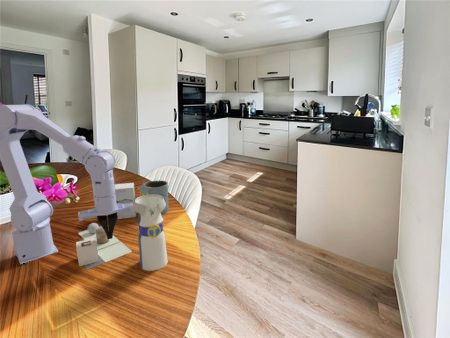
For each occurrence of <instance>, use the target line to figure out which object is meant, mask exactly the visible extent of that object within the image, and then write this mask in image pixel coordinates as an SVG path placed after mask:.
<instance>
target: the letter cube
mask: <svg viewBox="0 0 450 338" xmlns="http://www.w3.org/2000/svg"><path fill="white" fill-rule="evenodd" d="M75 245H76V246H75V248H76V255H77V261H78V267H82V266H83V265H86V264H90V263H94V262H98V261H99V258H98V250H97V245H96V240H95V238H92V239H88V240H84V239H83V240H79V241H76V243H75ZM83 267H84V266H83Z"/></svg>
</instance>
